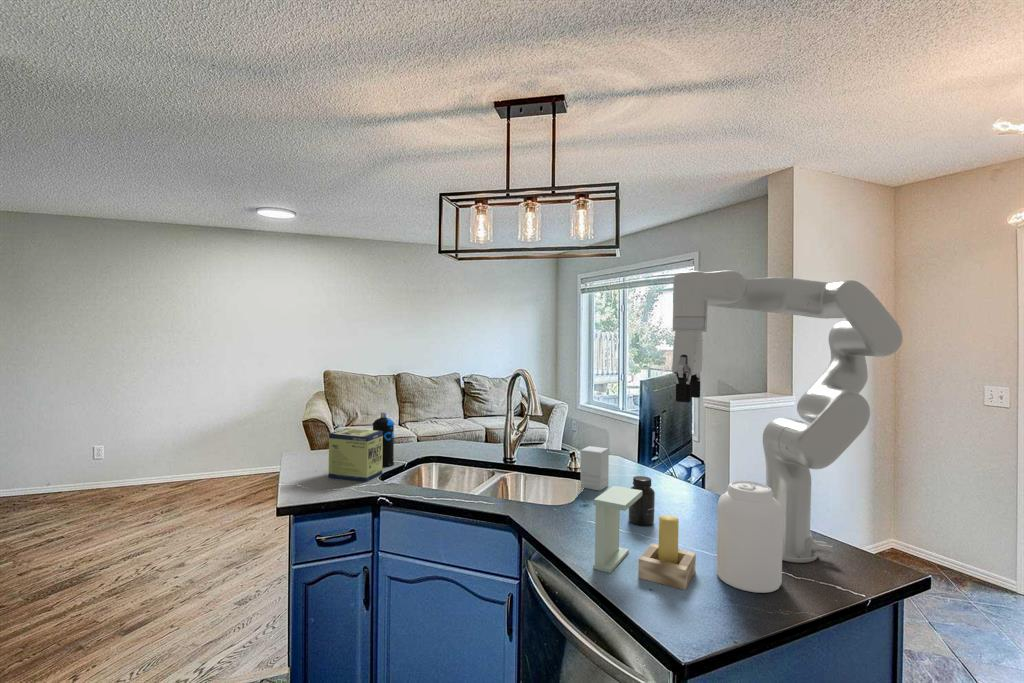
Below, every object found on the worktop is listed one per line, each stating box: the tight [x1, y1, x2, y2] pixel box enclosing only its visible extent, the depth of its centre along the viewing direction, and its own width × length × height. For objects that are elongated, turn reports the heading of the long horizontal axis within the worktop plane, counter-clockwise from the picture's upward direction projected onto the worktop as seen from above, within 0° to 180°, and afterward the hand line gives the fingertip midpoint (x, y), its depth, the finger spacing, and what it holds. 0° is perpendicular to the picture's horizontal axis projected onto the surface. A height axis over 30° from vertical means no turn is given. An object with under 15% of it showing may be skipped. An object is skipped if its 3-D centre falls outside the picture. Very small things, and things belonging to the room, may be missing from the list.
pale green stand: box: [592, 485, 642, 574], centre depth 116 cm, size 7×12×15 cm, turn 149°
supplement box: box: [580, 445, 610, 492], centre depth 172 cm, size 7×7×13 cm
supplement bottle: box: [628, 475, 656, 527], centre depth 141 cm, size 7×7×12 cm
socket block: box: [637, 542, 697, 591], centre depth 110 cm, size 10×10×4 cm
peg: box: [658, 514, 680, 565], centre depth 110 cm, size 4×4×12 cm
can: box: [716, 480, 783, 594], centre depth 109 cm, size 12×12×20 cm
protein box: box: [328, 428, 383, 483], centre depth 181 cm, size 10×16×16 cm
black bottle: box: [372, 411, 395, 468], centre depth 196 cm, size 8×8×20 cm
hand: (688, 399), depth 119 cm, fingers open, 9 cm apart
